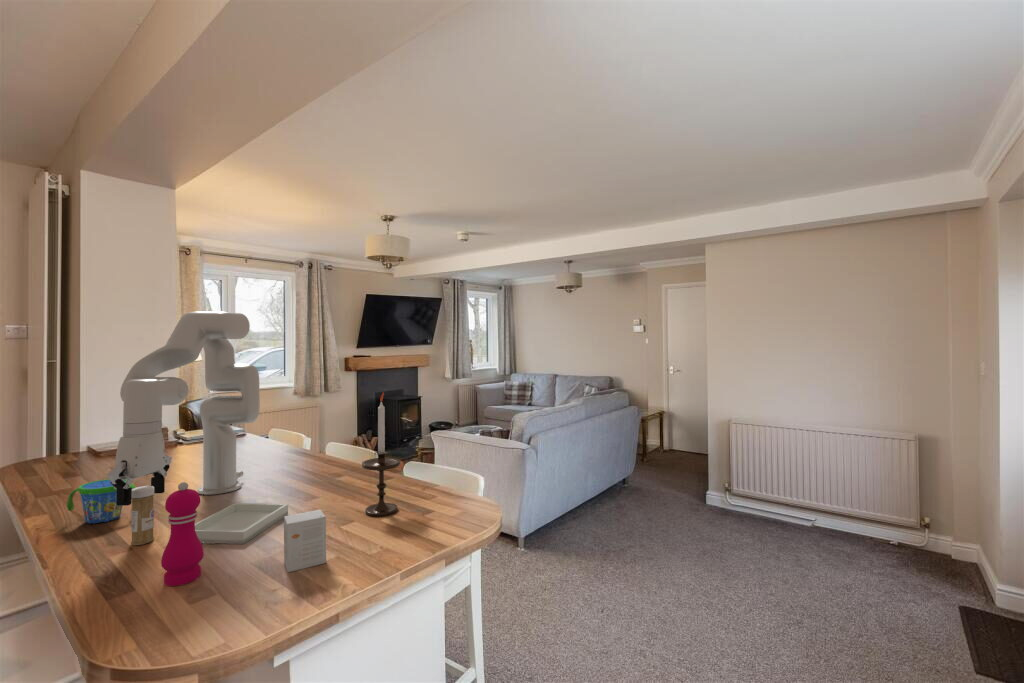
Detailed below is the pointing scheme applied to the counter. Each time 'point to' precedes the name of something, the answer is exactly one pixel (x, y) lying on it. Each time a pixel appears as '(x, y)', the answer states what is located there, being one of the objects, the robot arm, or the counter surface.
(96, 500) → the snack cup
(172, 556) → the pepper mill
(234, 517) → the tray
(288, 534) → the small box
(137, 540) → the sprinkles bottle
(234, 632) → the counter surface
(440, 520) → the counter surface
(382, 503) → the candlestick
